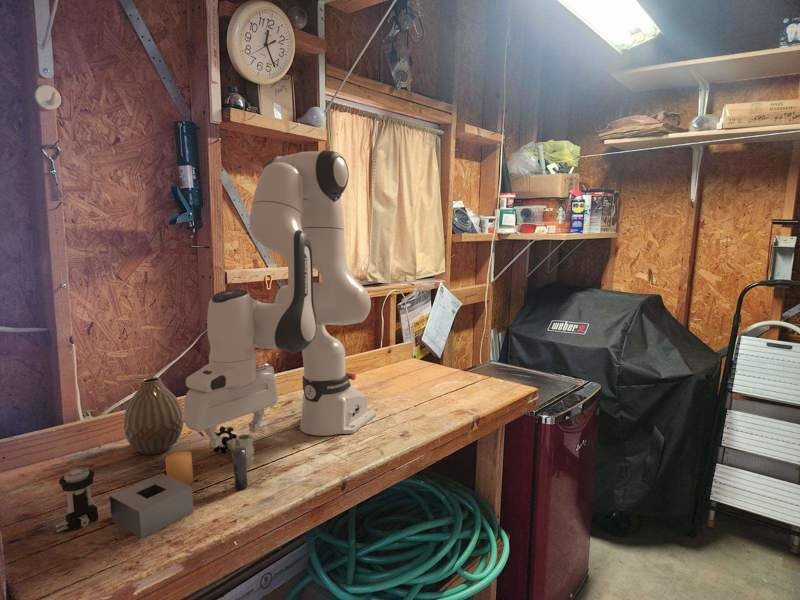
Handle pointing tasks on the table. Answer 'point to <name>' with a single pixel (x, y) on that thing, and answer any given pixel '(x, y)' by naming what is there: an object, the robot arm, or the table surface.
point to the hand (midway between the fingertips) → (236, 438)
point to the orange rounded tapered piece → (180, 467)
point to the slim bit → (240, 468)
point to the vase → (153, 418)
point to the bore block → (151, 505)
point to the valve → (236, 444)
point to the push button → (78, 498)
